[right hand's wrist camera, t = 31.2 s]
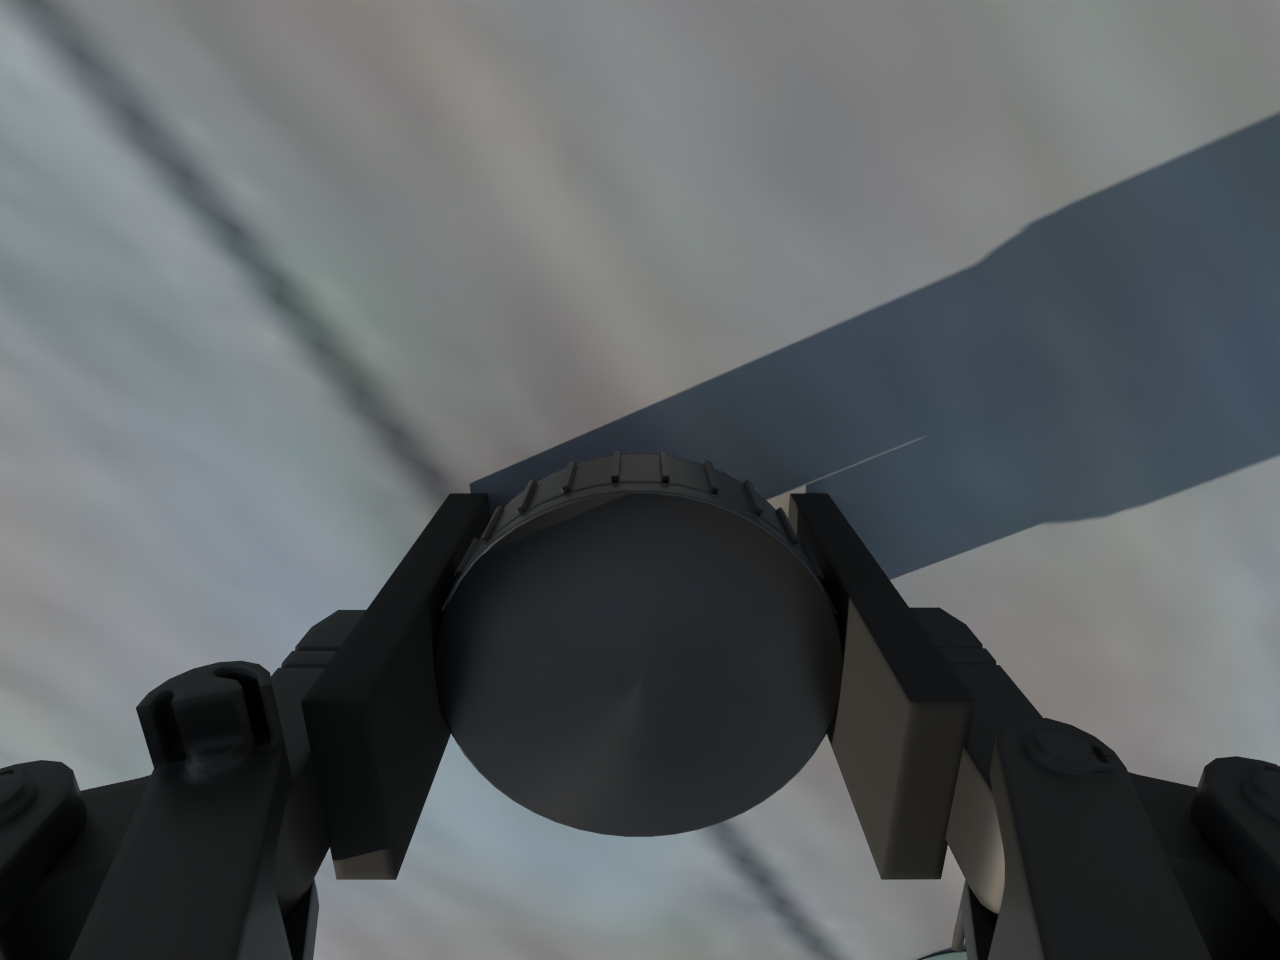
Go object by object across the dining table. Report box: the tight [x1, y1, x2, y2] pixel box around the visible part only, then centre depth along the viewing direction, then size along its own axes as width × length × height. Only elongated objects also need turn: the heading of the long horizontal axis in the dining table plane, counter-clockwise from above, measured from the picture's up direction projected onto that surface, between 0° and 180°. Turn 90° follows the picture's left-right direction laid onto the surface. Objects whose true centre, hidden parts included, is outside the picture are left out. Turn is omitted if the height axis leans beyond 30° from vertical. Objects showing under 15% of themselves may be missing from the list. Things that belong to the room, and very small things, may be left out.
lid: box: [434, 451, 843, 837], centre depth 11 cm, size 6×6×2 cm
